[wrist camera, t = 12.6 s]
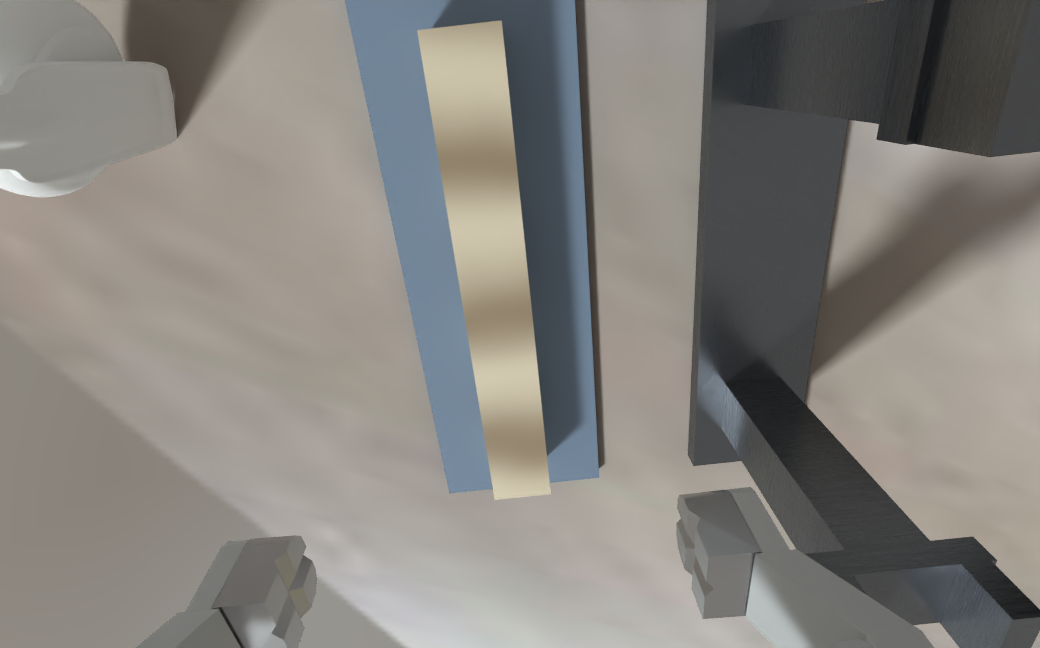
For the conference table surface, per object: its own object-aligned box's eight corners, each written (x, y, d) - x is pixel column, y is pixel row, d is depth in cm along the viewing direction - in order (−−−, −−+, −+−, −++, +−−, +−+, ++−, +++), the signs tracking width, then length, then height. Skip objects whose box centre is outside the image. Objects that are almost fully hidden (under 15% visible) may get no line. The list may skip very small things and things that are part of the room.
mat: (345, -13, 21) (341, -15, 21) (570, -40, 21) (572, -43, 20) (450, 486, 32) (449, 493, 32) (597, 470, 32) (599, 477, 32)
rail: (427, 35, 21) (417, 30, 19) (501, 26, 21) (501, 20, 19) (495, 462, 31) (494, 499, 28) (546, 456, 31) (550, 493, 28)
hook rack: (709, -41, 21) (1083, -239, 8) (860, -59, 21) (1512, -291, 7) (688, 454, 32) (826, 737, 18) (787, 444, 32) (1000, 720, 18)
